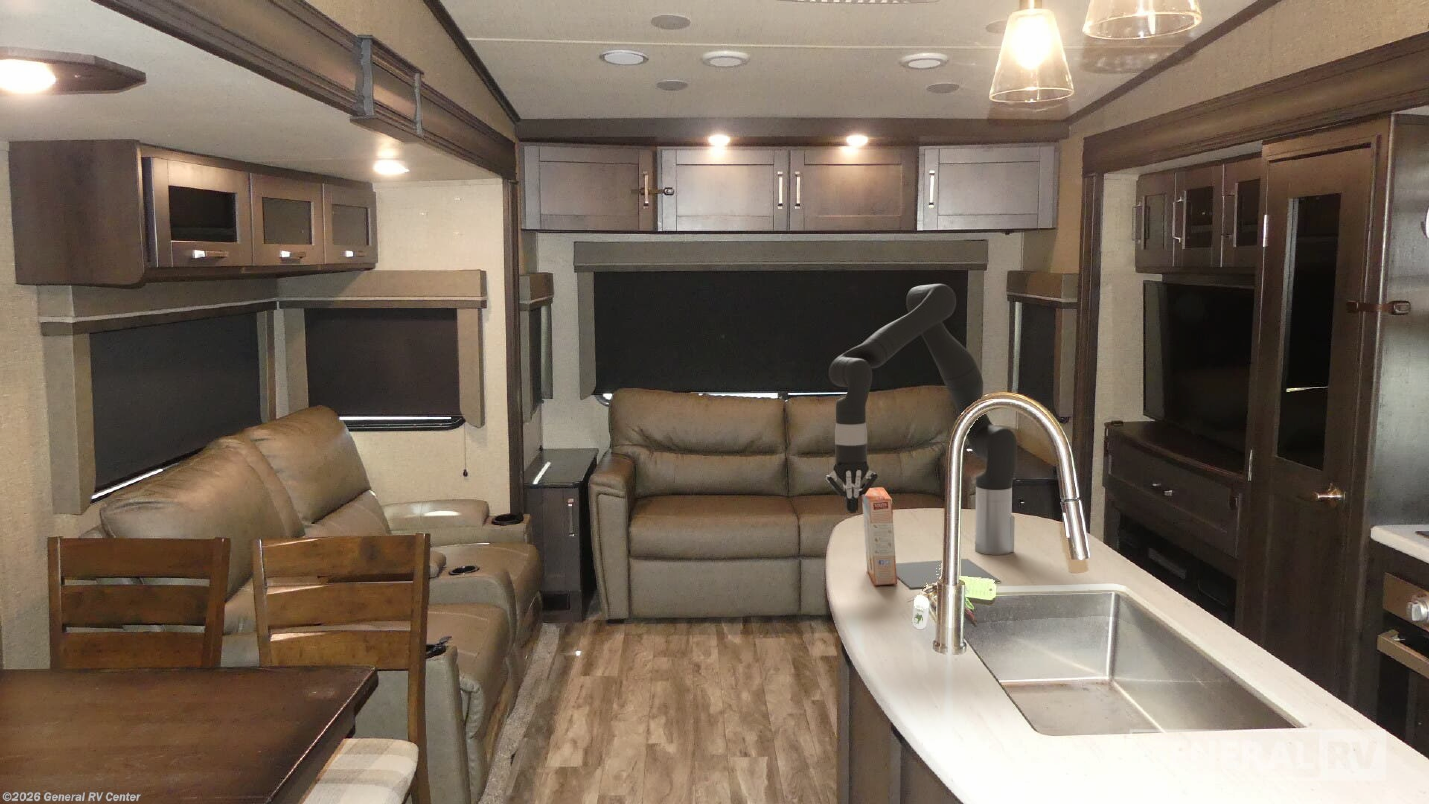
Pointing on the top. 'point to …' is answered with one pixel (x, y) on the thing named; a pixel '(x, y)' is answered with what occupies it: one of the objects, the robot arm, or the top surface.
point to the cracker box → (879, 536)
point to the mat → (934, 572)
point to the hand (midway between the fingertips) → (851, 512)
